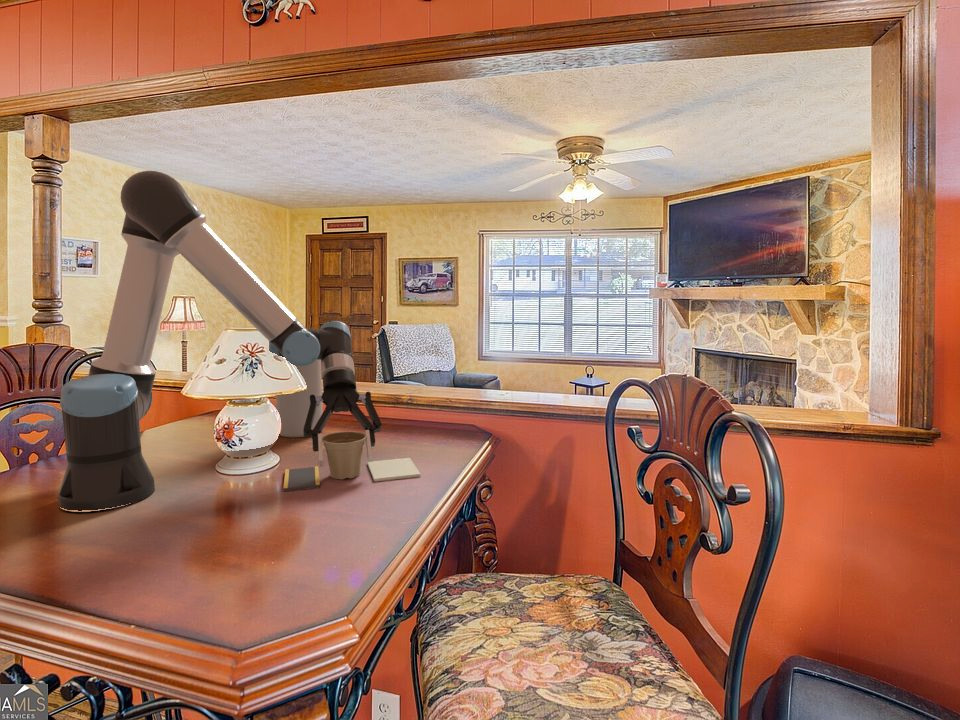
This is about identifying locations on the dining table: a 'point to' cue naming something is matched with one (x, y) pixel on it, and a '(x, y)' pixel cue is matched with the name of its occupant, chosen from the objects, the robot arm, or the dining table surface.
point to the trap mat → (301, 478)
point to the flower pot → (344, 453)
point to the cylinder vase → (300, 402)
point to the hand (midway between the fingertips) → (345, 461)
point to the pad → (393, 469)
